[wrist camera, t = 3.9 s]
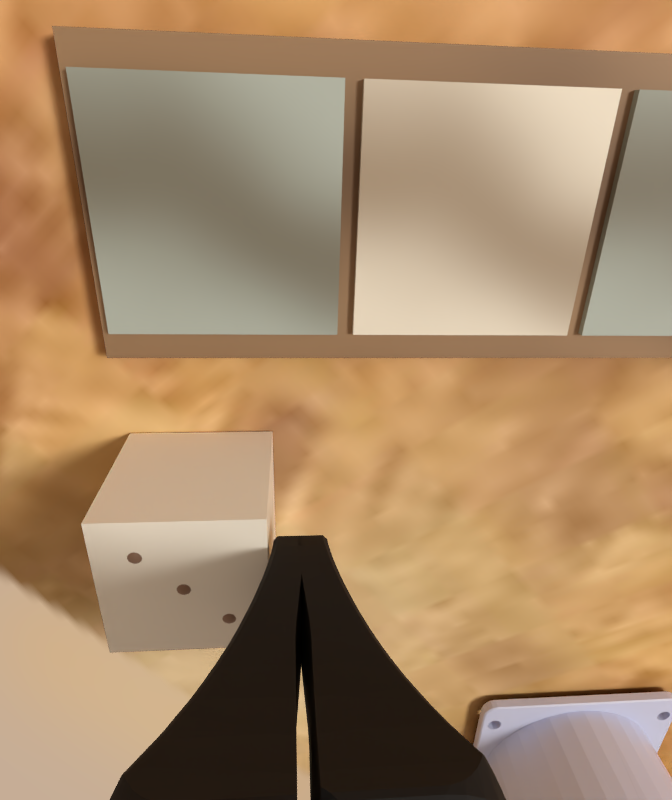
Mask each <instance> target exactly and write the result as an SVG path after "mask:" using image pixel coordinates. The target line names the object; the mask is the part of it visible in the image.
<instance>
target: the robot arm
mask: <svg viewBox="0 0 672 800" xmlns="http://www.w3.org/2000/svg"><path fill="white" fill-rule="evenodd" d="M301 667H302V676H303V686H304V695H305V704H306V713H307V723H308V734H309V751H310V789H311V790H310V793H311V800H672V778H671V776H670V775H669V773H668V771H667V769H666V768H665V766H664V764H663V763H662V761H661V759H660V758H659V756H658V754H657V752H658V750H659V747H660V745H661V743H662V741H663V739H664V737H665V734H666V732H667V730H668V728H669V726H670V723H671V721H672V693H671V692H666V691H661V692H641V693H621V694H601V695H581V696H561V697H541V698H520V699H500V700H491V701H488V702H486V703H485V704H484V705H483V706H482V708H481V712H480V717H479V721H478V726H477V730H476V735H475V739H474V744H473V745H472V744H471V743H470V742H469V741H468V740H466V739H465V738H464V737H463V736H462V735H461V734H460V733H459V732H458V731H457V730H456V729H455V728H453V727H452V726H451V725H450V724H449V723H448V722H447V721H446V720H445V719H444V718H443V717H442V716H441V715H440V714H439V713H438V712H437V711H436V710H435V709H434V708H433V707H432V706H431V705H430V704H429V702H428V701H427V700H426V699H425V698H424V697H423V696H422V695H421V694H420V692H419V691H418V690H417V689H416V688H415V687H414V686H413V685H412V683H411V682H410V681H409V680H408V679H407V678H406V677H405V676H404V674H403V673H402V672H401V671H400V669H399V668H398V667H397V666H396V664H395V663H394V662H393V660H392V659H391V658H390V657H389V655H388V654H387V653H386V651H385V650H384V648H383V647H382V646H381V644H380V643H379V641H378V640H377V639H376V637H375V636H374V634H373V633H372V631H371V630H370V628H369V626H368V625H367V623H366V622H365V620H364V618H363V617H362V615H361V614H360V612H359V610H358V608H357V607H356V605H355V603H354V601H353V599H352V598H351V596H350V594H349V592H348V590H347V588H346V586H345V584H344V582H343V580H342V578H341V576H340V574H339V572H338V569H337V567H336V565H335V562H334V560H333V557H332V555H331V552H330V549H329V545H328V542H327V539H326V538H325V537H324V536H323V535H316V536H278V537H277V538H276V539H274V541H273V547H272V551H271V555H270V558H269V561H268V564H267V567H266V570H265V572H264V575H263V577H262V580H261V582H260V584H259V587H258V589H257V591H256V593H255V596H254V598H253V600H252V602H251V604H250V606H249V608H248V610H247V612H246V614H245V616H244V618H243V619H242V621H241V623H240V625H239V627H238V629H237V631H236V632H235V634H234V636H233V638H232V639H231V641H230V643H229V644H228V646H227V648H226V649H225V651H224V652H223V654H222V655H221V657H220V658H219V660H218V662H217V663H216V665H215V666H214V667H213V669H212V670H211V672H210V673H209V674H208V676H207V677H206V679H205V680H204V682H203V683H202V684H201V686H200V687H199V688H198V690H197V691H196V692H195V694H194V695H193V696H192V698H191V699H190V700H189V701H188V703H187V704H186V705H185V706H184V707H183V709H182V710H181V711H180V712H179V714H178V715H177V716H176V717H175V718H174V719H173V721H172V722H171V723H170V724H169V725H168V727H167V728H166V729H165V730H164V732H162V734H161V735H160V736H159V737H158V738H157V739H156V740H155V741H154V742H153V743H152V744H151V745H150V746H149V747H148V749H146V751H145V752H144V753H143V754H142V755H141V756H140V757H139V758H138V759H137V760H136V761H135V762H134V763H133V764H132V765H131V766H130V767H129V768H128V769H127V771H125V772H124V773H123V775H122V776H121V778H120V780H119V782H118V784H117V786H116V788H115V790H114V792H113V794H112V796H111V798H110V800H297V752H296V725H297V712H298V699H299V685H300V672H301Z"/></svg>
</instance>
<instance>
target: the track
mask: <svg viewBox="0 0 672 800" xmlns="http://www.w3.org/2000/svg"><path fill="white" fill-rule="evenodd" d="M52 28H53V34H54V40H55V46H56V52H57V58H58V64H59V70H60V77H61V83H62V89H63V95H64V101H65V107H66V113H67V119H68V125H69V131H70V137H71V143H72V149H73V155H74V161H75V167H76V173H77V179H78V186H79V192H80V198H81V204H82V210H83V216H84V222H85V228H86V234H87V240H88V246H89V252H90V258H91V264H92V270H93V276H94V282H95V288H96V294H97V301H98V307H99V313H100V319H101V325H102V331H103V337H104V343H105V349H106V355H107V358H672V54H664V53H641V52H619V51H597V50H575V49H553V48H530V47H508V46H486V45H464V44H442V43H419V42H397V41H375V40H353V39H331V38H309V37H286V36H264V35H242V34H220V33H198V32H175V31H153V30H131V29H109V28H87V27H64V26H52Z"/></svg>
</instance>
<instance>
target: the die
mask: <svg viewBox="0 0 672 800" xmlns="http://www.w3.org/2000/svg"><path fill="white" fill-rule="evenodd" d="M81 526H82V530H83V535H84V539H85V544H86V548H87V553H88V557H89V562H90V566H91V571H92V575H93V580H94V584H95V589H96V593H97V597H98V602H99V606H100V611H101V615H102V620H103V624H104V629H105V633H106V638H107V642H108V647H109V651H110V652H134V651H157V650H181V649H204V648H227V646H228V644H229V643H230V641H231V639H232V638H233V636H234V634H235V632H236V631H237V629H238V627H239V625H240V623H241V621H242V619H243V618H244V616H245V614H246V612H247V610H248V608H249V606H250V604H251V602H252V600H253V598H254V596H255V593H256V591H257V589H258V587H259V584H260V582H261V580H262V577H263V575H264V572H265V570H266V567H267V564H268V561H269V558H270V555H271V551H272V547H273V541H274V539H276V534H275V501H274V468H273V435H272V431H264V432H191V433H130V434H129V436H128V438H127V440H126V442H125V444H124V445H123V447H122V449H121V451H120V453H119V455H118V456H117V458H116V460H115V462H114V464H113V466H112V468H111V469H110V471H109V473H108V475H107V477H106V479H105V481H104V482H103V484H102V486H101V488H100V490H99V492H98V494H97V495H96V497H95V499H94V501H93V503H92V505H91V506H90V508H89V510H88V512H87V514H86V516H85V518H84V519H83V521H82V523H81Z"/></svg>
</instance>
